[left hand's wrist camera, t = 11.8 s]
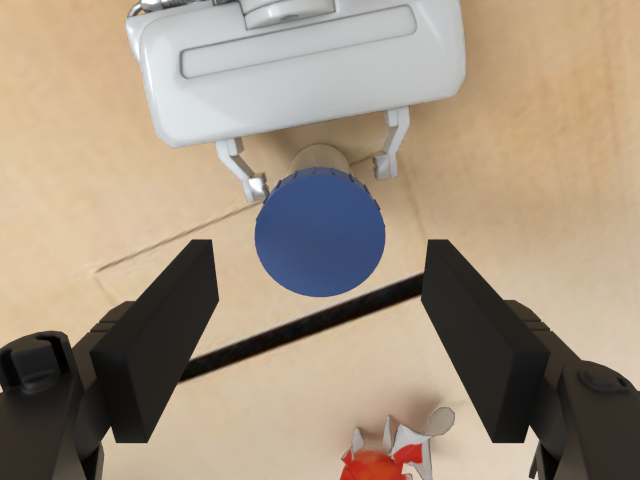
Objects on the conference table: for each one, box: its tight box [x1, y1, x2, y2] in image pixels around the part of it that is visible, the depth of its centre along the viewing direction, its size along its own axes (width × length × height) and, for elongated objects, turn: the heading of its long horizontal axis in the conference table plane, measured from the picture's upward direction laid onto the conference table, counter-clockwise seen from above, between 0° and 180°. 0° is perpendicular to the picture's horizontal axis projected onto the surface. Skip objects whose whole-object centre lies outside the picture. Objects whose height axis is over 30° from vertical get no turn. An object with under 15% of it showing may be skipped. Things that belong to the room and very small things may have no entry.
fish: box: [340, 407, 455, 480], centre depth 39 cm, size 11×16×10 cm
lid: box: [255, 166, 385, 297], centre depth 18 cm, size 6×6×2 cm
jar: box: [285, 144, 355, 178], centre depth 25 cm, size 6×6×16 cm
